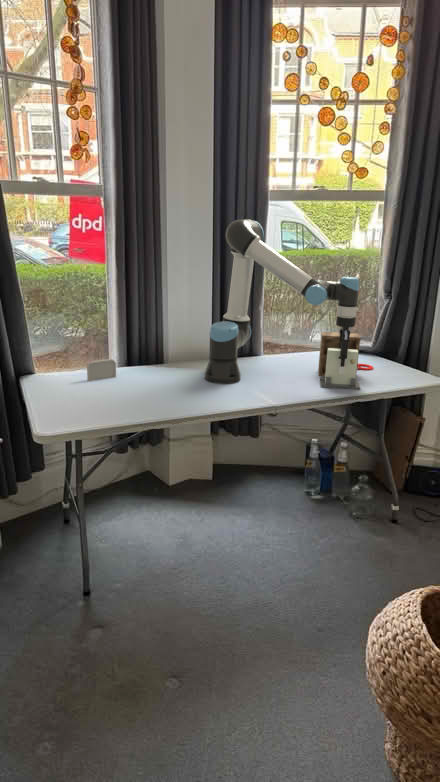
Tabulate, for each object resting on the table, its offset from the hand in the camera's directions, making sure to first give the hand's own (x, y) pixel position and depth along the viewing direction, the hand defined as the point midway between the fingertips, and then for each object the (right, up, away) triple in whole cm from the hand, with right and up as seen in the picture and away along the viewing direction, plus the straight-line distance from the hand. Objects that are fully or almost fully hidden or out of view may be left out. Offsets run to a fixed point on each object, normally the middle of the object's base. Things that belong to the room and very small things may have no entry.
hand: (340, 371), depth 236 cm
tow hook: (+16, +3, +29) cm, 33 cm away
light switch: (-99, -3, 0) cm, 99 cm away
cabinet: (+2, -1, +17) cm, 17 cm away
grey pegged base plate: (0, -5, +2) cm, 6 cm away
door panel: (0, -4, +1) cm, 5 cm away
